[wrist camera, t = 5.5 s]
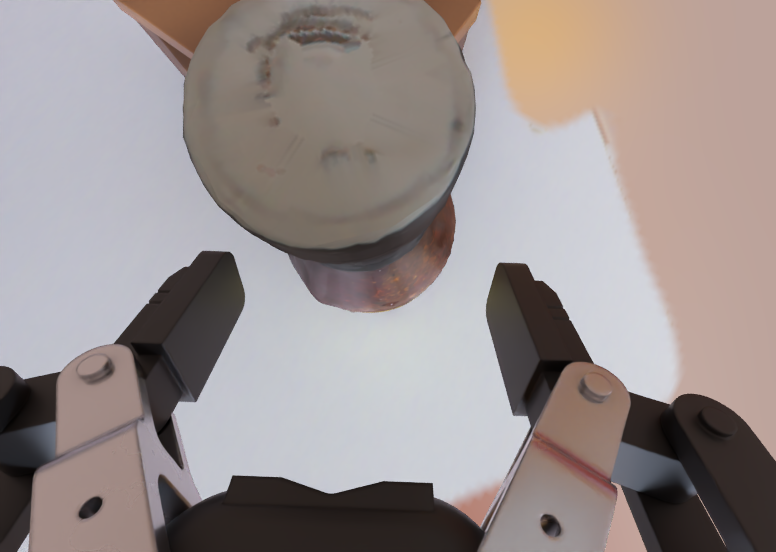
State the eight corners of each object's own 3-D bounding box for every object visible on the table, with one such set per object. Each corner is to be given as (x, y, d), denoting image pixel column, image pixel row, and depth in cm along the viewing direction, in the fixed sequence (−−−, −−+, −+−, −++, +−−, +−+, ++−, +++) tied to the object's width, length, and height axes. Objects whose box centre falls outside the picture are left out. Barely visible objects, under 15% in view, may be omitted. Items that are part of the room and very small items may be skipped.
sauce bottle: (363, 205, 25) (268, -222, 5) (439, 248, 24) (662, -27, 5) (316, 285, 24) (-6, 157, 4) (393, 330, 24) (427, 410, 4)
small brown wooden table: (191, 90, 26) (103, -10, 18) (282, -18, 27) (238, -158, 19) (365, 214, 25) (354, 166, 17) (452, 97, 26) (482, 0, 18)
